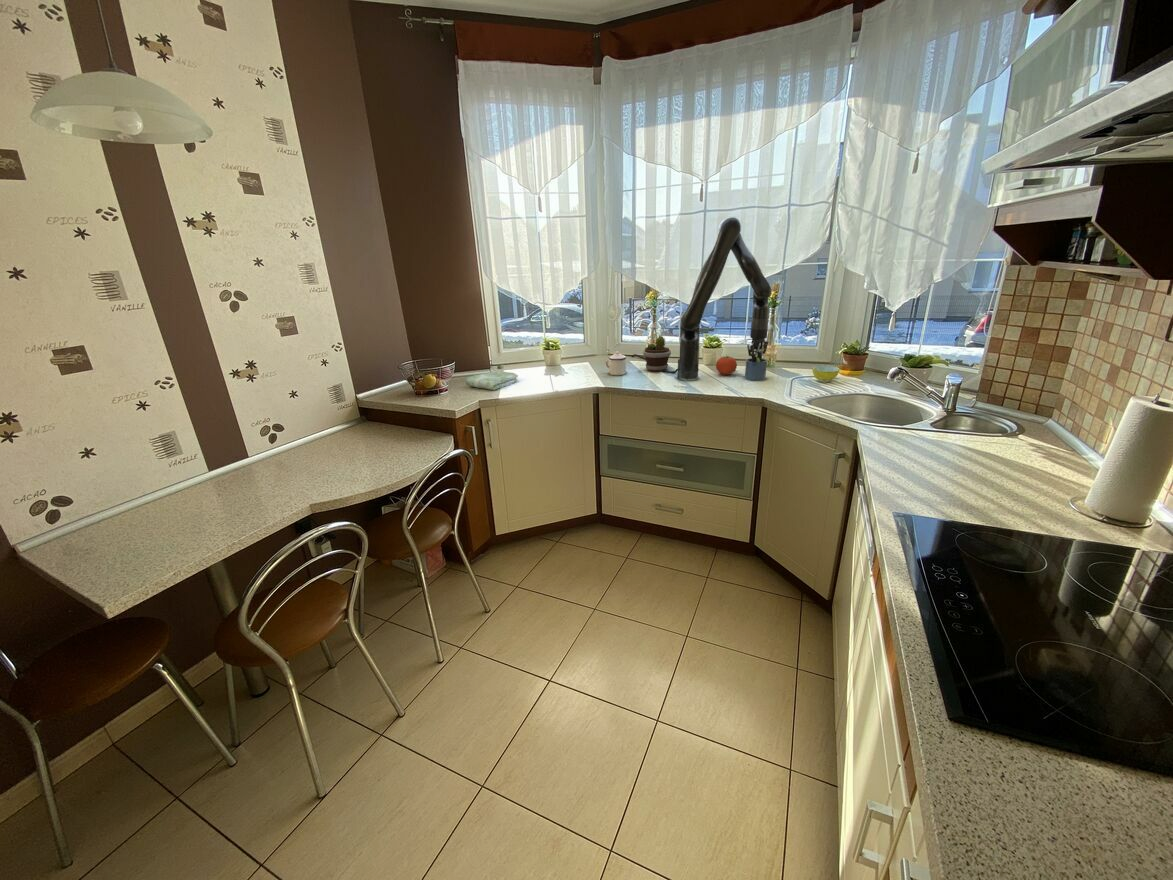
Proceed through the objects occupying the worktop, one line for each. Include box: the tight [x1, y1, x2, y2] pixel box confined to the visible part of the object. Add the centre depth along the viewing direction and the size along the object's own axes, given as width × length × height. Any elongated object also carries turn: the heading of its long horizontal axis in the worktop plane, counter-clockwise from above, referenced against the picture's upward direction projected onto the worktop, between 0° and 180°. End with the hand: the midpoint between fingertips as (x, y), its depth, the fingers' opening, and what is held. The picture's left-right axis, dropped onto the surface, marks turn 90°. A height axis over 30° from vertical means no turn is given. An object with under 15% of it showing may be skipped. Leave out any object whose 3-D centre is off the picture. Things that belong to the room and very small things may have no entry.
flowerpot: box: [642, 334, 672, 373], centre depth 254 cm, size 14×15×20 cm
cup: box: [744, 357, 768, 382], centre depth 231 cm, size 9×9×9 cm
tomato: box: [715, 355, 738, 376], centre depth 240 cm, size 10×10×10 cm
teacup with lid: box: [605, 351, 627, 376], centre depth 253 cm, size 12×9×12 cm
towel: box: [465, 370, 519, 391], centre depth 244 cm, size 18×21×5 cm
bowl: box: [812, 365, 841, 383], centre depth 220 cm, size 11×12×6 cm
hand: (756, 363), depth 230 cm, fingers open, 3 cm apart
